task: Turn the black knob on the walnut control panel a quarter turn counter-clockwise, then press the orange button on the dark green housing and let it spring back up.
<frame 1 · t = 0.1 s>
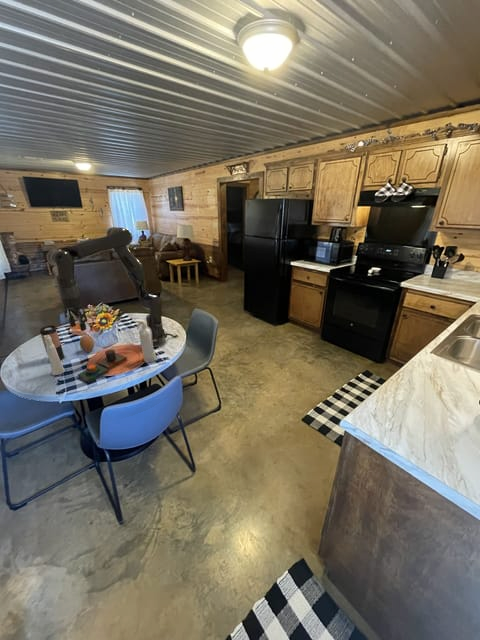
hand: (78, 328, 124), 29 cm above the table, tool pointing down, fingers open, 8 cm apart
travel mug: (57, 359, 154), on the table
housing: (93, 375, 139), on the table
panel: (112, 363, 150), on the table
egg: (88, 351, 163), on the table
fire extinguisher: (150, 360, 153), on the table
knob: (110, 355, 148), point 5 cm above the table, hinge at 0.0°
cosmetic bottle: (58, 372, 141), on the table
button: (91, 367, 137), point 4 cm above the table, slide at 0.1 cm
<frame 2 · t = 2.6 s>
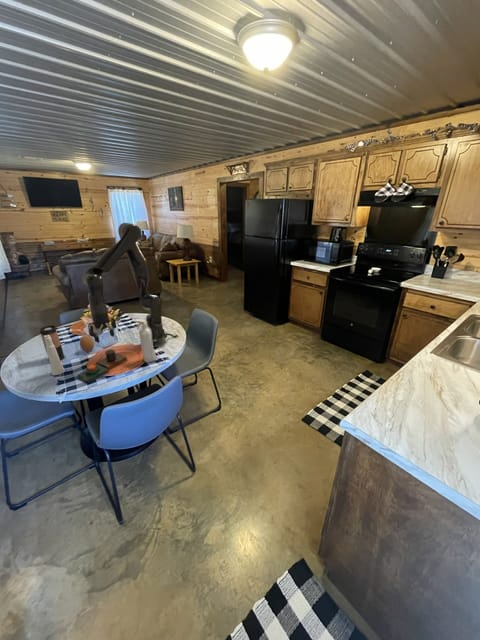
hand: (105, 339, 142), 16 cm above the table, tool pointing down, fingers open, 8 cm apart
nothing on the table moved.
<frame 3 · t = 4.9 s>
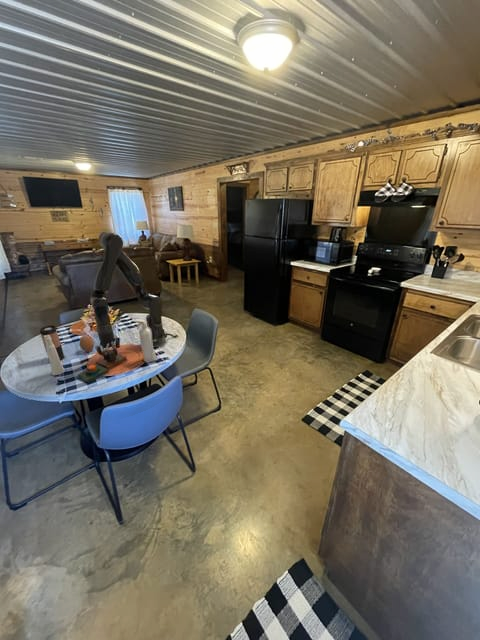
hand: (111, 357, 148), 4 cm above the table, tool pointing down, fingers closed on knob, 5 cm apart
knob: (110, 355, 148), point 5 cm above the table, hinge at 0.0°, touching gripper
everything else where it was.
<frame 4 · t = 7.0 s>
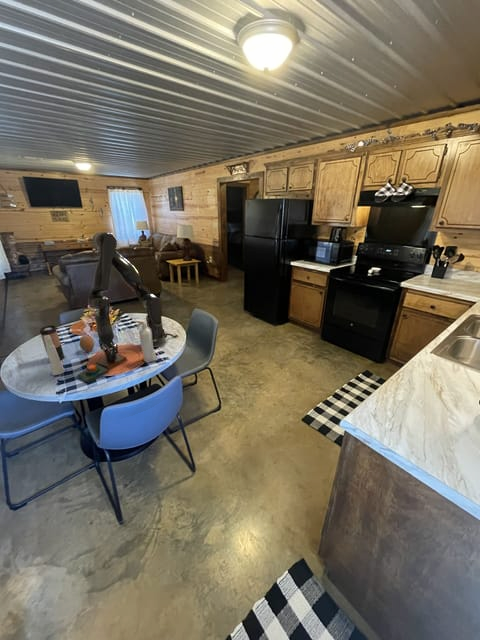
hand: (111, 358, 148), 3 cm above the table, tool pointing down, fingers open, 5 cm apart
knob: (110, 355, 148), point 5 cm above the table, hinge at 91.0°
everything else where it was.
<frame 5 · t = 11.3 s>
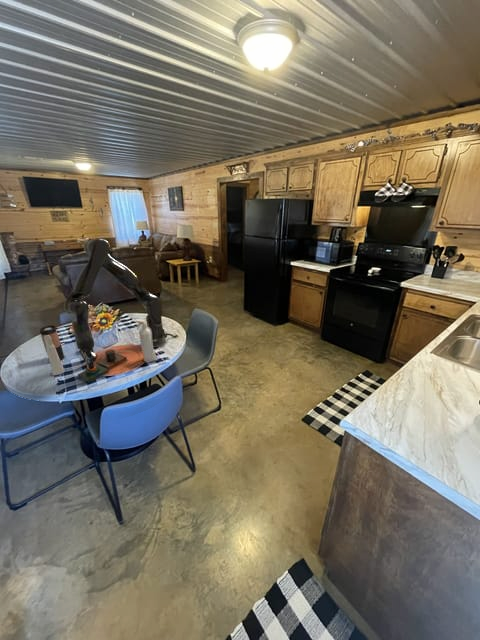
hand: (91, 367, 137), 4 cm above the table, tool pointing down, fingers closed
button: (92, 369, 138), point 4 cm above the table, slide at -0.8 cm, touching gripper
everything else where it was.
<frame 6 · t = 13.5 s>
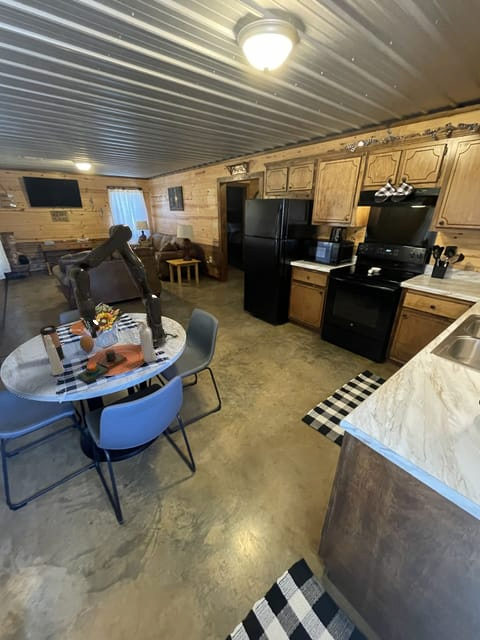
hand: (94, 337, 138), 19 cm above the table, tool pointing down, fingers closed
button: (91, 367, 137), point 4 cm above the table, slide at 0.1 cm
everything else where it was.
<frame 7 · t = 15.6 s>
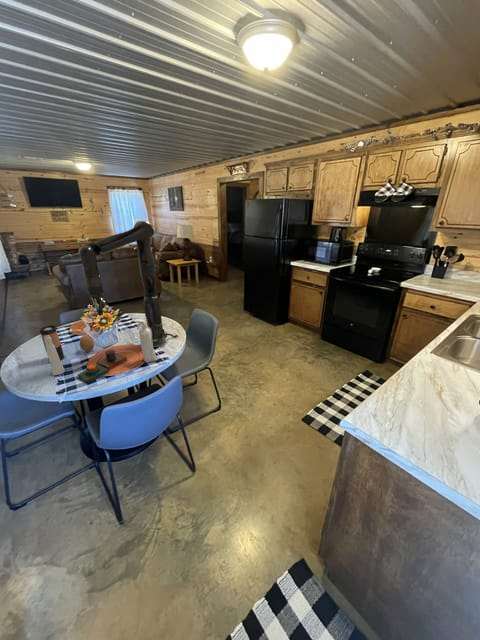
hand: (100, 315, 145), 27 cm above the table, tool pointing down, fingers closed
nothing on the table moved.
at the end: knob at +91° (first picture: +0°); button pushed in 1.1 cm at the most during the clip, back to where it started at the end; button slide at 0.1 cm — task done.
